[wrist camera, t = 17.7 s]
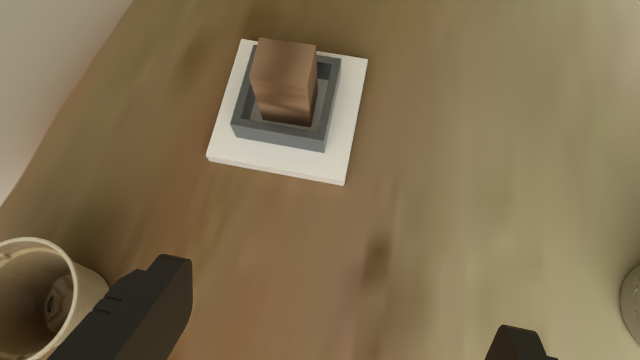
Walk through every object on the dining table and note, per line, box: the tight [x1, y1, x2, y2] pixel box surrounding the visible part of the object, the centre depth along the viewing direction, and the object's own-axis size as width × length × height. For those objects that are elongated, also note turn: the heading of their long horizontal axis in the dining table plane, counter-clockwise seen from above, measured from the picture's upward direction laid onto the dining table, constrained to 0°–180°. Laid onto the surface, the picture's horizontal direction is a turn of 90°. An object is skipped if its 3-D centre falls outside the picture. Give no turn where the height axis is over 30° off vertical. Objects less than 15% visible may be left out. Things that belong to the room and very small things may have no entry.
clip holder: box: [206, 39, 368, 186], centre depth 43 cm, size 14×14×4 cm
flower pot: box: [0, 237, 109, 360], centre depth 35 cm, size 9×9×9 cm
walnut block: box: [249, 37, 318, 127], centre depth 40 cm, size 5×4×8 cm
